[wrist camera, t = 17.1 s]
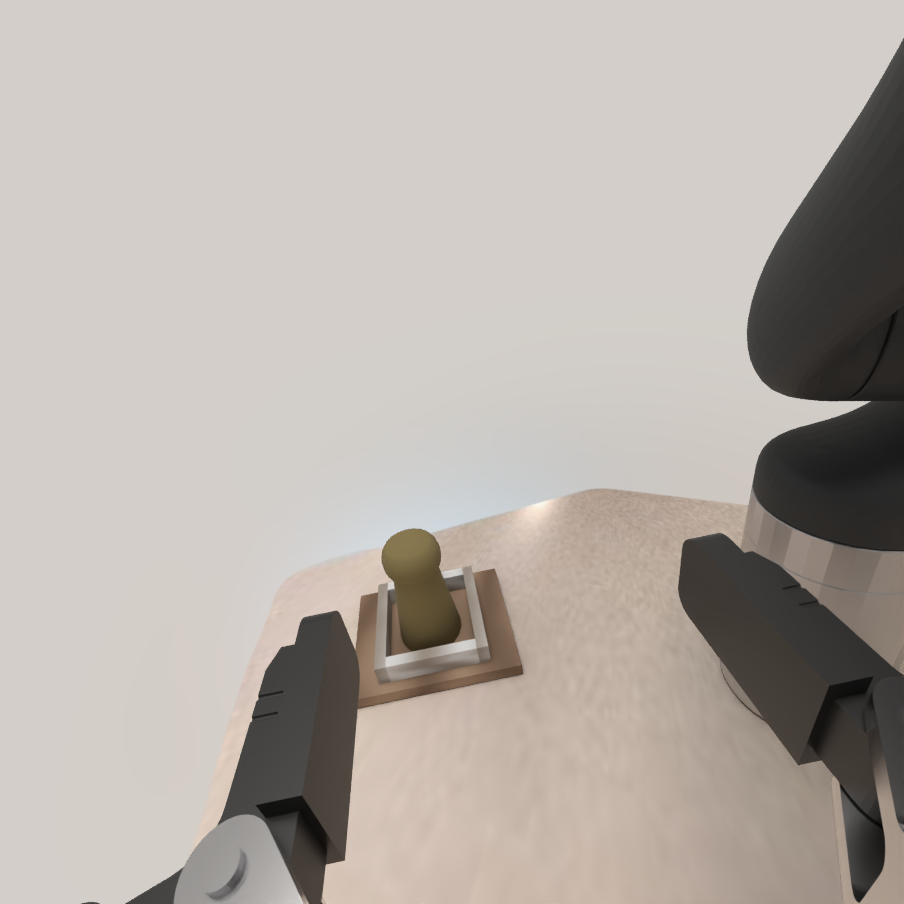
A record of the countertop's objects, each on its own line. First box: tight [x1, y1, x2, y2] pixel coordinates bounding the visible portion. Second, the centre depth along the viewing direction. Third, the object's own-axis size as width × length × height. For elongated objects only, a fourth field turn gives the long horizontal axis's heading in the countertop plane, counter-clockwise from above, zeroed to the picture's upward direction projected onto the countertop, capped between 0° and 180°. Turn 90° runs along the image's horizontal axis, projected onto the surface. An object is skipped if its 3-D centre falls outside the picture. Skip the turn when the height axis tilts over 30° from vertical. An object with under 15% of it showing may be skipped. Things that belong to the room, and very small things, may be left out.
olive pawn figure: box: [382, 529, 462, 651], centre depth 40 cm, size 6×6×11 cm
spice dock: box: [356, 566, 523, 708], centre depth 43 cm, size 15×12×3 cm
